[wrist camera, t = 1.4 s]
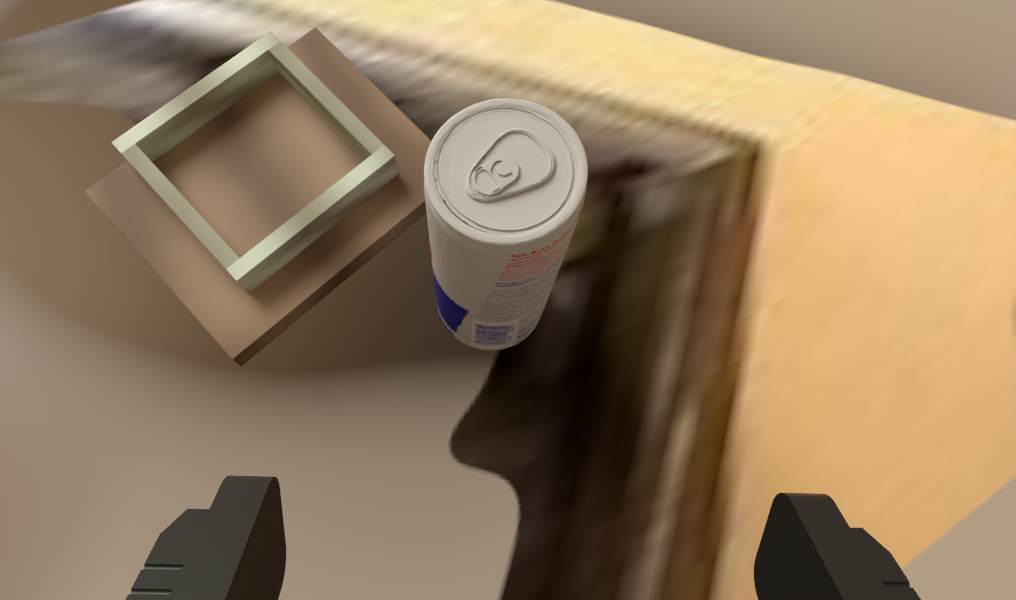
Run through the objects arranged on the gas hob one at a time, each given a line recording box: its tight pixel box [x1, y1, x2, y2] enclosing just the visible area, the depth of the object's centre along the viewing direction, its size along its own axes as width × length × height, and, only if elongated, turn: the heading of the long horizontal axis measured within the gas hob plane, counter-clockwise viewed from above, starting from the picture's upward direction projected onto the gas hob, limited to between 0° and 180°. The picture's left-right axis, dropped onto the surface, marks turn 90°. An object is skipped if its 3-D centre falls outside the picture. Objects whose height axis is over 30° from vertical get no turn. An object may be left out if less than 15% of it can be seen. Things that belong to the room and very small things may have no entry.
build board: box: [85, 28, 432, 366], centre depth 38 cm, size 15×12×4 cm
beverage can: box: [424, 99, 588, 350], centre depth 31 cm, size 6×6×15 cm
